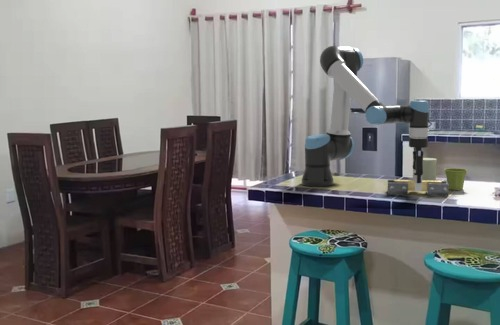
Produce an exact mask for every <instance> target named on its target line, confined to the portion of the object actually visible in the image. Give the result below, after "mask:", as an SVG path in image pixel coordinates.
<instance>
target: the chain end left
mask: <svg viewBox="0 0 500 325" xmlns="http://www.w3.org/2000/svg"><path fill="white" fill-rule="evenodd" d="M394 180H395V179H387V195H391V196H392V195H394V196H408V194H409V191H408V183H394Z"/></svg>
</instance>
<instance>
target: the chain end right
mask: <svg viewBox="0 0 500 325" xmlns="http://www.w3.org/2000/svg"><path fill="white" fill-rule="evenodd" d="M441 181H442V184H437V183H428V191H425V193H426V194H427V196H429V197H430V196H433V197H449V194H450V193H449V190H450V189H449V184H447V180H441Z"/></svg>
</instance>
